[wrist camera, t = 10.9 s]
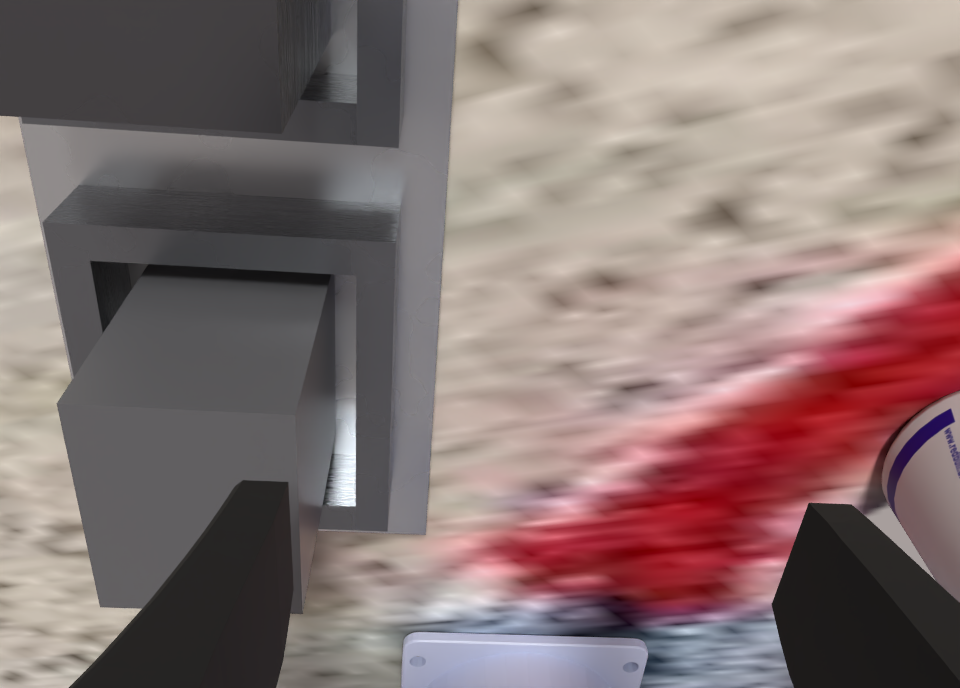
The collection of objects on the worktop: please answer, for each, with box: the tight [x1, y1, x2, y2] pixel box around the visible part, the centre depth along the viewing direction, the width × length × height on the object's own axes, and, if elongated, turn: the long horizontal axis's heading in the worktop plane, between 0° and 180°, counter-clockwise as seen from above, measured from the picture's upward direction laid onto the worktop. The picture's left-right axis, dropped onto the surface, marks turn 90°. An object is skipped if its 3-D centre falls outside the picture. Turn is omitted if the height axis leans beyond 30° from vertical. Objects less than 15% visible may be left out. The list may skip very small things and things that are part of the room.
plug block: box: [57, 264, 336, 614], centre depth 19 cm, size 5×4×6 cm
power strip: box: [0, 0, 458, 535], centre depth 17 cm, size 20×9×7 cm, turn 176°
